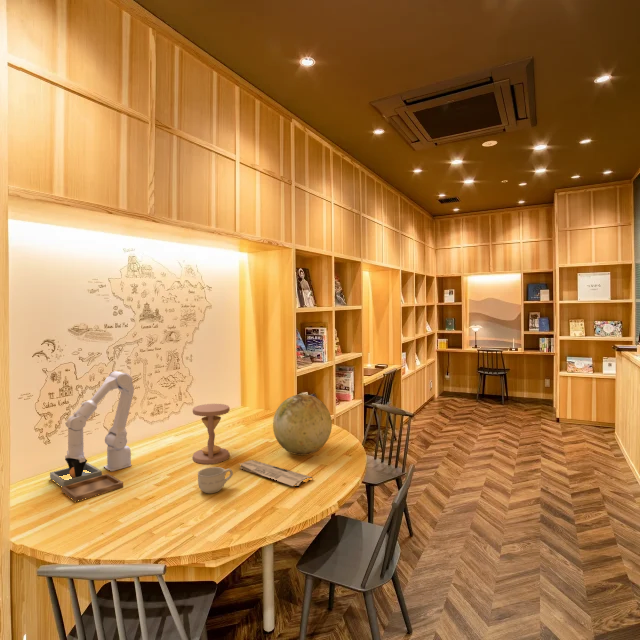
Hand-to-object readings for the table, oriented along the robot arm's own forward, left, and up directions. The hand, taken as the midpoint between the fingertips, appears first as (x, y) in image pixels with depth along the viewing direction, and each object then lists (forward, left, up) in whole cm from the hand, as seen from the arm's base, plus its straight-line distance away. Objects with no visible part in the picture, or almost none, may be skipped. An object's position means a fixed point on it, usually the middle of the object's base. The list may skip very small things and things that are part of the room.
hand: (76, 474), depth 179 cm
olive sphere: (-87, +53, -2) cm, 102 cm away
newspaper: (-58, +62, -2) cm, 84 cm away
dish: (0, 0, -2) cm, 2 cm away
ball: (0, 0, +1) cm, 1 cm away
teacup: (-32, +55, -2) cm, 64 cm away
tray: (0, +17, -2) cm, 17 cm away
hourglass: (-53, +23, -2) cm, 58 cm away
